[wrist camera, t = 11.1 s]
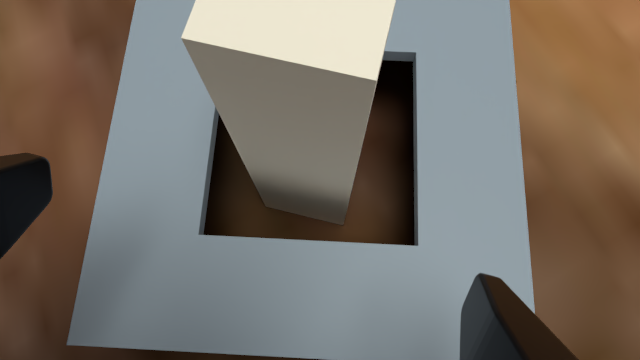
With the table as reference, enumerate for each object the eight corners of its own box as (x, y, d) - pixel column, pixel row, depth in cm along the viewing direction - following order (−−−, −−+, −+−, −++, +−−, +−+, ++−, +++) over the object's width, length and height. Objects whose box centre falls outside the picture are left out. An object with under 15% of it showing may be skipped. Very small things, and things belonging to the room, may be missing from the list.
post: (343, 225, 20) (376, 80, 8) (265, 206, 20) (181, 37, 8) (360, 151, 21) (414, -79, 9) (286, 134, 21) (239, -111, 9)
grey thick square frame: (481, 357, 18) (539, 371, 13) (133, 338, 18) (66, 344, 14) (466, 50, 22) (507, -24, 17) (181, 37, 22) (143, -39, 18)
